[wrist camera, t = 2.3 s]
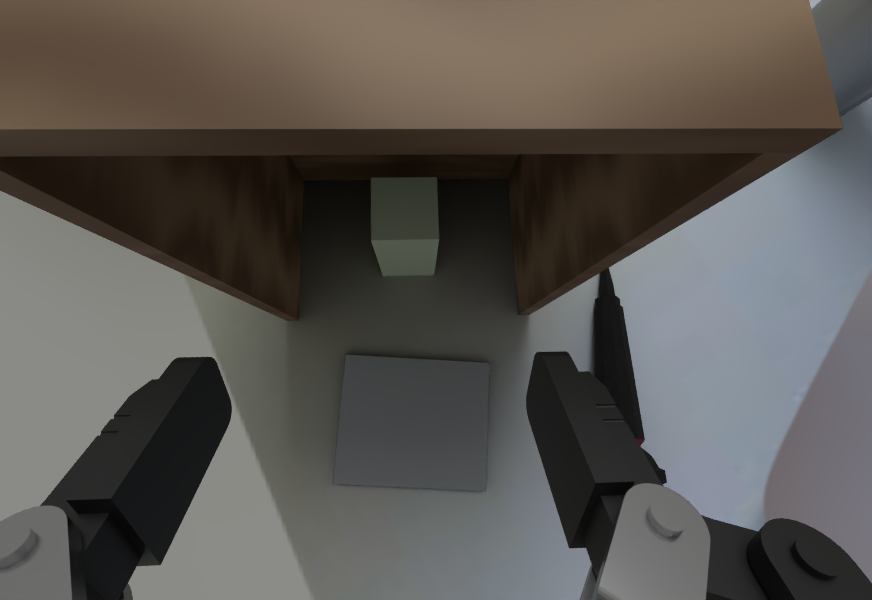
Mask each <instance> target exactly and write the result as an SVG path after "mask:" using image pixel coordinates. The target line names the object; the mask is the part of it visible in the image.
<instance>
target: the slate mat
mask: <svg viewBox="0 0 872 600" xmlns="http://www.w3.org/2000/svg"><path fill="white" fill-rule="evenodd" d="M489 367H490V363H483V362H465V361H448V360H431V359H414V358H396V357H379V356H362V355H346V356H345V366H344V376H343V386H342V396H341V406H340V416H339V426H338V436H337V445H336V455H335V465H334V475H333V484H341V485H362V486H383V487H404V488H425V489H446V490H467V491H486V478H487V441H488V404H489Z"/></svg>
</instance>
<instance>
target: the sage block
mask: <svg viewBox="0 0 872 600" xmlns="http://www.w3.org/2000/svg"><path fill="white" fill-rule="evenodd" d="M371 242H372V245H373V248H374V251H375V254H376V257H377V260H378V263H379V266H380V268H381V271H382V274H383V276H417V275H434V272H435V265H436V258H437V251H438V244H439V219H438V192H437V177H404V178H371Z"/></svg>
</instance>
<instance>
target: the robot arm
mask: <svg viewBox="0 0 872 600" xmlns="http://www.w3.org/2000/svg"><path fill="white" fill-rule="evenodd" d="M812 14H813V18H814V22H815V25H816V29H817V33H818V36H819V40H820V44H821V48H822V51H823V55H824V59H825V63H826V66H827V70H828V74H829V77H830V81H831V85H832V89H833V92H834V96H835V100H836V104H837V107H838V111H839V115H840V116H842V115H844V114H846V113H847V112H849V111H850V110H852V109H854V108H855V107H857V106H858V105H860V104H862V103H863V102H865V101H866V100H868V99H870V98H871V97H872V0H821V1H820V2H819V3H818V4H817V5H816V6H815V7H814V8H813V9H812ZM526 407H527V414H528V419H529V422H530V425H531V428H532V431H533V435H534V438H535V441H536V444H537V447H538V450H539V454H540V457H541V460H542V463H543V466H544V470H545V473H546V476H547V479H548V482H549V485H550V489H551V492H552V495H553V498H554V501H555V504H556V508H557V511H558V514H559V517H560V520H561V524H562V527H563V530H564V533H565V536H566V539H567V543H568V546H569V548H586V549H587V551H588V554H589V557H590V560H591V563H592V564H591V566H590V569H589V572H588V575H587V578H586V581H585V585H584V588H583V591H582V594H581V597H580V600H872V583H871V582H870V581H869V579H868V578H867V577H866V576H865V574H864V573H863V572H862V571H861V569H860V568H859V567H858V566H857V564H856V563H855V562H854V561H853V560H852V559H851V557H850V556H849V555H848V554H847V553H846V552H845V551H844V550H843V549H842V548H841V547H840V546H838V545H837V544H836V543H835V542H833V541H832V540H831V539H830V538H828V537H827V536H825V535H824V534H822V533H821V532H819V531H817V530H816V529H814V528H812V527H810V526H808V525H805V524H803V523H800V522H798V521H794V520H790V519H783V518H779V519H773V520H770V521H768V522H767V523H765V524H764V526H763V527H762V528H761V529H760V530H759V531H754V530H750V529H747V528H743V527H739V526H736V525H732V524H728V523H725V522H721V521H717V520H714V519H711V518H708V517H705V516H702V515H700V513H699V512H698V511H697V509H696V508H695V507H694V506H693V505H692V504H691V503H690V502H689V501H687V500H686V499H685V498H684V497H682V496H681V495H680V494H678V493H676V492H675V491H673V490H671V489H669V488H666V487H664V486H663V485H662V483H661V482H660V480H659V479H658V477H657V475H656V473H655V472H654V470H653V468H652V466H651V465H650V463H649V461H648V459H647V458H646V456H645V454H644V452H643V451H642V449H641V447H640V445H639V444H638V442H637V440H636V438H635V437H634V435H633V433H632V431H631V430H630V428H629V426H628V424H627V423H626V422H624V417H623V416H622V414H621V412H620V411H619V409H618V407H616V404H615V402H614V400H613V398H612V397H611V395H610V393H609V391H608V390H607V388H606V386H605V385H604V384H602V383H601V382H600V381H599V380H598V379H597V378H596V377H595V376H593V375H592V374H591V373H590V372H578V370H577V368H576V366H575V364H574V362H573V360H572V358H571V356H570V354H569V353H568V352H537V353H536V354H535V357H534V361H533V366H532V371H531V376H530V381H529V386H528V390H527V397H526ZM231 412H232V406H231V400H230V397H229V394H228V392H227V389H226V386H225V384H224V381H223V378H222V376H221V373H220V370H219V368H218V365H217V362H216V361H215V359H214V358H212V357H188V358H187V357H184V358H183V357H182V358H176V359H174V360H173V361H172V362H171V364H170V365H169V366H168V368H167V369H166V370H165V371H164V373H163V374H162V375H161V377H160V378H159V379H157V380H151V381H149V382H148V383H147V384H145V385H144V386H143V387H141V388H140V389H139V390H137V391H136V392H135V393H133V394H132V395H131V396H129V397H128V399H127V400H126V401H125V402H124V404H123V405H122V406H121V408H120V409H119V410H118V411H117V412H116V414H115V415H114V419H111V420H110V421H109V422H108V423H107V425H106V426H105V427H104V428H103V430H102V431H101V435H100V436H97V437H96V438H95V439H94V441H93V442H92V443H91V444H90V446H89V447H88V448H87V449H86V450H85V452H84V453H83V454H82V455H81V457H80V458H79V459H78V460H77V462H76V463H75V464H74V465H73V467H72V468H71V469H70V470H69V471H68V473H67V474H66V475H65V476H64V478H63V479H62V480H61V481H60V483H59V484H58V485H57V486H56V487H55V489H54V490H53V491H52V492H51V494H50V495H49V496H48V497H47V499H46V500H45V501H44V502H43V503H42V504H41V505H40V506H38V507H33V508H30V509H27V510H23V511H21V512H19V513H16V514H14V515H12V516H10V517H8V518H6V519H4V520H3V521H1V522H0V600H133V597H132V592H131V588H130V586H129V584H128V582H129V579H130V578H131V576H132V574H133V572H134V570H135V568H136V566H149V565H161V563H162V561H163V559H164V557H165V555H166V553H167V551H168V549H169V547H170V545H171V543H172V541H173V538H174V536H175V534H176V532H177V530H178V528H179V526H180V524H181V522H182V520H183V518H184V516H185V514H186V512H187V510H188V508H189V506H190V504H191V502H192V499H193V497H194V495H195V493H196V491H197V489H198V487H199V485H200V483H201V481H202V479H203V477H204V475H205V473H206V470H207V469H208V466H209V464H210V462H211V460H212V458H213V456H214V454H215V452H216V450H217V448H218V446H219V444H220V442H221V440H222V438H223V436H224V433H225V431H226V430H227V427H228V425H229V422H230V419H231Z"/></svg>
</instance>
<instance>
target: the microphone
mask: <svg viewBox="0 0 872 600" xmlns="http://www.w3.org/2000/svg"><path fill="white" fill-rule="evenodd" d="M595 304H596V307H595V309H594V327H595V377H596V378H597V379H598V380H599V381H600V382H601V383H602V384H604V385H605V386H606V388H607V390H608V391H609V393H610V395H611V397H612V398H613V400H614V402H615V404H616V407H618V409H619V411H620V412H621V414H622V416H623V417H624V422H626V423H627V424H628V426H629V428H630V430H631V431H632V433H633V435H634V437H635V438H636V440H637V442H638V444H639V445H640V446H641V444H642V443H643V441H644V440H645V438H644V432H643V426H642V420H641V414H640V408H639V402H638V396H637V391H636V385H635V379H634V373H633V367H632V361H631V355H630V349H629V343H628V337H627V331H626V325H625V319H624V313H623V307H622V306H620V299H619V298H618V297H617V296H615V293H614V286H613V282H612V279H611V275H610V271H609V268H607V269H605V270H604V271H602V272H601V273H600V286H599V298H597V299H595ZM641 449H642V448H641ZM642 451H643V452H644V454H645V456H646V458H647V459H648V461H649V463H650V465H651V466H652V468H653V470H654V472H655V473H656V475H657V477H658V479H659V480H660V482H661V483H662V484H664V483H667V480H666V475H665V470H663V469H660V468H659V467H658V465H657V464H656V462H655V460H654V459H653V457H652V456H651V455H650V454H648V453H647V452H646V451H645V450H644V449H642Z"/></svg>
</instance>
